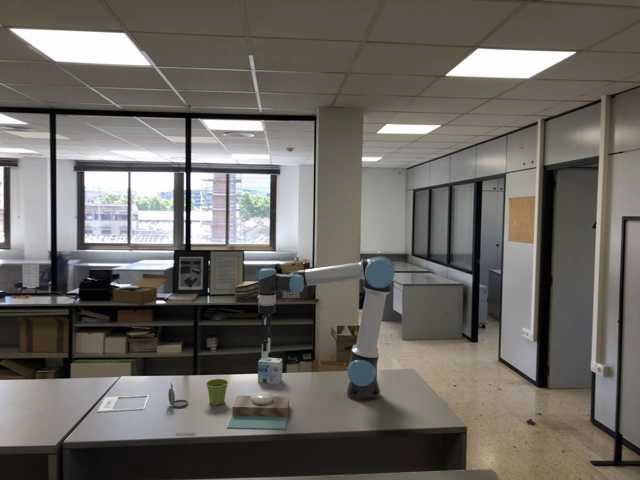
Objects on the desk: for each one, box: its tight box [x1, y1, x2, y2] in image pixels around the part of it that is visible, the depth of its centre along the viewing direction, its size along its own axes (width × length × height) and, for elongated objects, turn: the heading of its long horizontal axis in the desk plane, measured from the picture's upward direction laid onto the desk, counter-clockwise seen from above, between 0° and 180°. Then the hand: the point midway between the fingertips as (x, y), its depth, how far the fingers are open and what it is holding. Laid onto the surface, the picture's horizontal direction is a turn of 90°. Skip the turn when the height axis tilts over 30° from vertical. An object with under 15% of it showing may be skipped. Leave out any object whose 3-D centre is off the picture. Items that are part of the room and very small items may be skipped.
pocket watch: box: [167, 382, 189, 408], centre depth 203 cm, size 8×8×10 cm
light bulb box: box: [257, 357, 283, 385], centre depth 234 cm, size 11×7×11 cm, turn 81°
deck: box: [231, 394, 290, 418], centre depth 199 cm, size 22×12×4 cm, turn 90°
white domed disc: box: [250, 391, 274, 405], centre depth 201 cm, size 9×9×2 cm
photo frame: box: [97, 394, 150, 413], centre depth 204 cm, size 15×1×18 cm
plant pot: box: [205, 378, 229, 406], centre depth 207 cm, size 9×9×9 cm
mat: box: [226, 415, 288, 431], centre depth 188 cm, size 22×10×1 cm, turn 90°
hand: (266, 355), depth 212 cm, fingers open, 8 cm apart
